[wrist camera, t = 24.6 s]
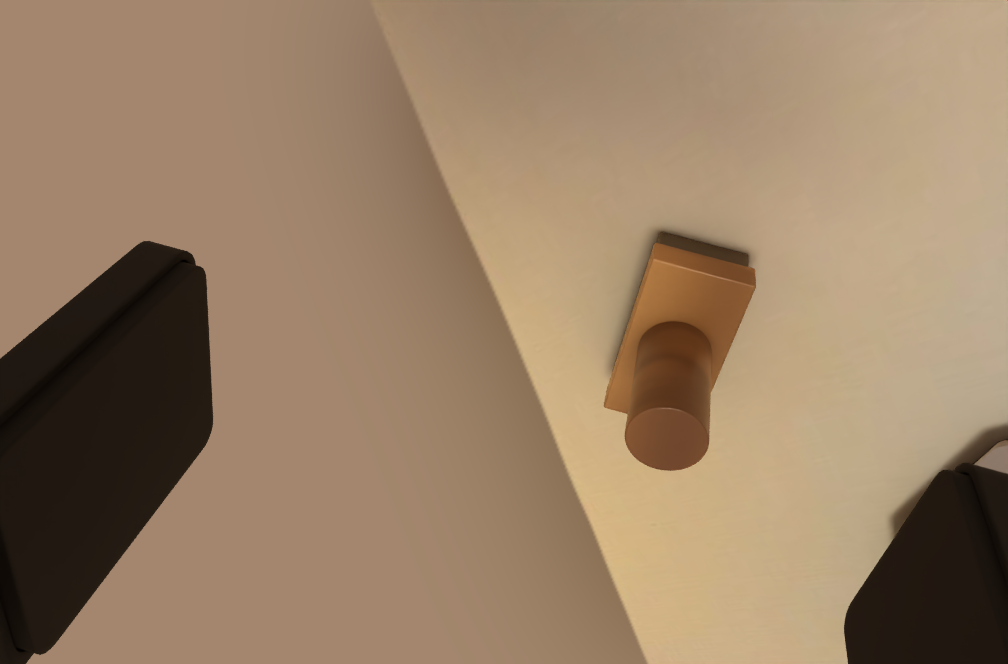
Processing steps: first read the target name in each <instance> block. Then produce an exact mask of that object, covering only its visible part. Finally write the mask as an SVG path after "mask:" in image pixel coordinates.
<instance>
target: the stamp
mask: <svg viewBox="0 0 1008 664" xmlns="http://www.w3.org/2000/svg"><path fill="white" fill-rule="evenodd" d="M755 288H756V279H755V269H753V268H749V265H748V255H747V254H743V253H739V252H735V251H731V250H728V249H724V248H720V247H716V246H713V245H709V244H705V243H701V242H697V241H694V240H690V239H686V238H682V237H679V236H675V235H671V234H667V233H663V232H661V233H660V234H659V237H658V241H657V243H655V244H654V247H653V250H652V253H651V256H650V259H649V262H648V265H647V268H646V271H645V274H644V277H643V280H642V283H641V286H640V289H639V292H638V295H637V298H636V302H635V305H634V308H633V311H632V314H631V317H630V320H629V323H628V326H627V329H626V332H625V335H624V338H623V341H622V344H621V347H620V350H619V353H618V356H617V360H616V363H615V366H614V369H613V372H612V375H611V378H610V381H609V384H608V387H607V391H606V396H605V402H604V407H605V408H608V409H612V410H615V411H619V412H623V413H626V414H628V416H627V422H626V429H625V441H626V445H627V447H628V449H629V451H630V452H631V453H632V455H633V456H634V457H635V458H636V459H638V460H639V461H640V462H642V463H643V464H645V465H647V466H650V467H652V468H655V469H660V470H670V471H671V470H681V469H685V468H688V467H690V466H692V465H694V464H696V463H697V462H698V461H700V460H701V459H702V457H703V456H704V455H705V453H706V452H707V449H708V446H709V429H710V395H711V391H712V389H713V387H714V384H715V382H716V380H717V377H718V375H719V373H720V370H721V368H722V365H723V363H724V361H725V358H726V356H727V354H728V351H729V349H730V347H731V344H732V342H733V340H734V337H735V335H736V333H737V330H738V328H739V325H740V323H741V321H742V318H743V316H744V314H745V311H746V309H747V307H748V304H749V302H750V300H751V297H752V295H753V293H754V290H755Z"/></svg>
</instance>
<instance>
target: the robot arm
mask: <svg viewBox="0 0 1008 664" xmlns="http://www.w3.org/2000/svg"><path fill="white" fill-rule="evenodd" d="M212 425H213V408H212V388H211V367H210V346H209V325H208V306H207V285H206V274H205V271H204V269H203V268H202V267H200V266H196V264H195V260H194V257H193V255H192V254H190V253H189V252H187V251H184V250H180V249H176V248H173V247H169V246H165V245H162V244H158V243H154V242H151V241H144V242H142V243H140V244H138V245H137V246H135V247H134V248H133V249H132V250H131V251H129V252H128V253H127V254H126V255H125V256H124V257H122V258H121V259H120V260H119V261H117V262H116V263H115V264H114V265H112V267H110V268H109V269H108V270H107V271H105V272H104V273H103V274H102V275H100V276H99V277H98V278H97V279H96V280H94V281H93V282H92V283H91V284H90V285H89V286H87V287H86V288H85V289H84V290H82V291H81V292H80V293H79V294H78V295H76V296H75V297H74V298H73V299H72V300H70V301H69V302H68V303H67V304H66V305H64V306H63V307H62V308H61V309H60V310H58V311H57V312H56V313H55V314H54V315H52V316H51V317H50V318H49V319H47V321H45V322H44V323H43V324H41V325H40V326H39V327H38V328H37V329H35V330H34V331H33V332H32V333H31V334H29V335H28V336H27V337H26V338H25V339H23V340H22V341H21V342H20V343H19V344H17V345H16V346H15V347H14V348H13V349H11V350H10V351H9V352H8V353H7V354H5V355H4V356H3V357H2V358H1V359H0V664H26V663H27V661H28V660H29V659H30V657H31V656H32V655H33V654H34V653H36V654H39V655H41V654H44V653H46V652H47V651H48V650H50V649H51V648H52V647H53V646H54V645H55V643H56V642H57V641H58V640H59V638H60V637H61V636H62V634H63V633H64V632H65V630H66V629H67V628H68V626H69V625H70V624H71V622H72V621H73V620H74V619H75V617H76V616H77V615H78V613H79V612H80V611H81V609H82V608H83V607H84V605H85V604H86V603H87V601H88V600H89V599H90V597H91V596H92V595H93V593H94V592H95V591H96V589H97V588H98V587H99V586H100V584H101V583H102V582H103V580H104V579H105V578H106V576H107V575H108V574H109V572H110V571H111V570H112V568H113V567H114V566H115V564H116V563H117V562H118V560H119V559H120V558H121V556H122V555H123V554H124V552H125V551H126V550H127V549H128V547H129V546H130V545H131V543H132V542H133V541H134V539H135V538H136V537H137V535H138V534H139V532H140V531H141V530H142V529H143V527H144V526H145V525H146V523H147V522H148V521H149V519H150V518H151V517H152V516H153V514H154V513H155V511H156V510H157V509H158V507H159V506H160V505H161V504H162V502H163V501H164V499H165V498H166V497H167V496H168V494H169V493H170V491H171V490H172V489H173V488H174V486H175V485H176V484H177V483H178V481H179V480H180V479H181V477H182V476H183V475H184V473H185V472H186V471H187V469H188V468H189V467H190V465H191V464H192V463H193V461H194V460H195V459H196V457H197V456H198V455H199V453H200V452H201V451H202V450H203V448H204V447H205V445H206V443H207V441H208V439H209V437H210V434H211V431H212ZM844 634H845V642H846V650H847V658H848V664H1008V474H1007V473H1003V472H1000V471H996V470H992V469H989V468H985V467H981V466H978V465H974V464H970V463H962V464H961V465H959V466H957V467H956V468H955V469H954V471H950V470H942V471H941V472H939V473H938V474H937V476H936V477H935V478H934V480H933V481H932V482H931V484H930V485H929V487H928V488H927V490H926V491H925V493H924V494H923V496H922V497H921V499H920V500H919V502H918V503H917V505H916V506H915V508H914V509H913V511H912V512H911V514H910V515H909V517H908V518H907V520H906V521H905V523H904V524H903V526H902V527H901V529H900V530H899V532H898V533H897V535H896V536H895V538H894V539H893V541H892V542H891V544H890V545H889V547H888V548H887V550H886V551H885V553H884V554H883V556H882V557H881V559H880V560H879V562H878V563H877V565H876V566H875V568H874V569H873V571H872V572H871V574H870V575H869V577H868V578H867V579H866V581H865V582H864V584H863V585H862V587H861V588H860V590H859V591H858V593H857V594H856V596H855V597H854V599H853V600H852V602H851V604H850V606H849V608H848V610H847V613H846V618H845V625H844Z"/></svg>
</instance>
